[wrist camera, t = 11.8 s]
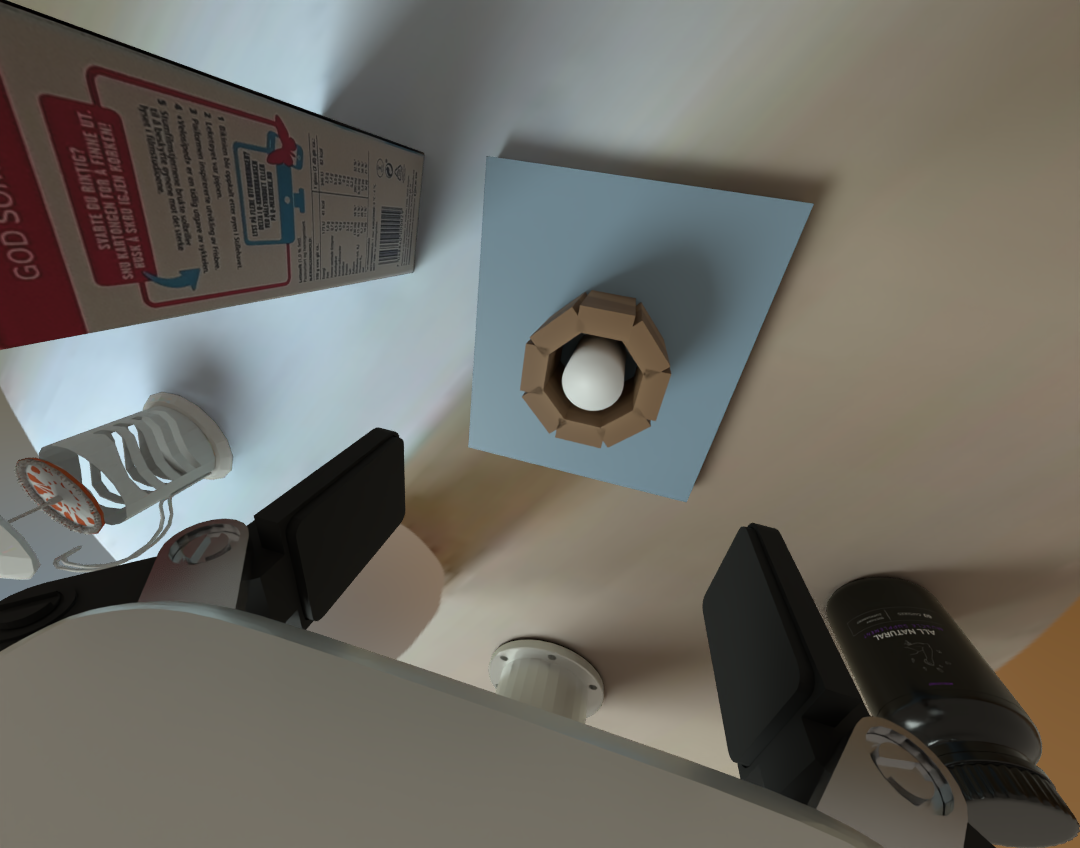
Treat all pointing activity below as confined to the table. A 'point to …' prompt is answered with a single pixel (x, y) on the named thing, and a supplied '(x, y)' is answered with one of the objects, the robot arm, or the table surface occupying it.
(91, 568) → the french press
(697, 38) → the table surface
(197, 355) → the table surface
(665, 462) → the post board
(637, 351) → the walnut ring
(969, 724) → the supplement bottle
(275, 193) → the juice carton
